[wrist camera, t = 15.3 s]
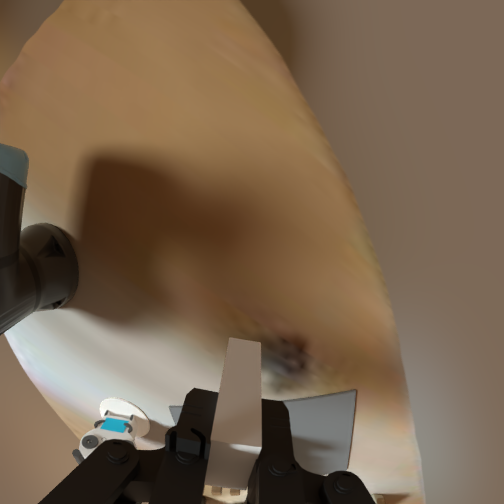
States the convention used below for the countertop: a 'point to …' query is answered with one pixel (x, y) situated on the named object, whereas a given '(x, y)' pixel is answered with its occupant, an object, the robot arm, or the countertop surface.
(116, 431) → the panda figurine
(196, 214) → the countertop surface
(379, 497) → the skincare box
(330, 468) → the card
